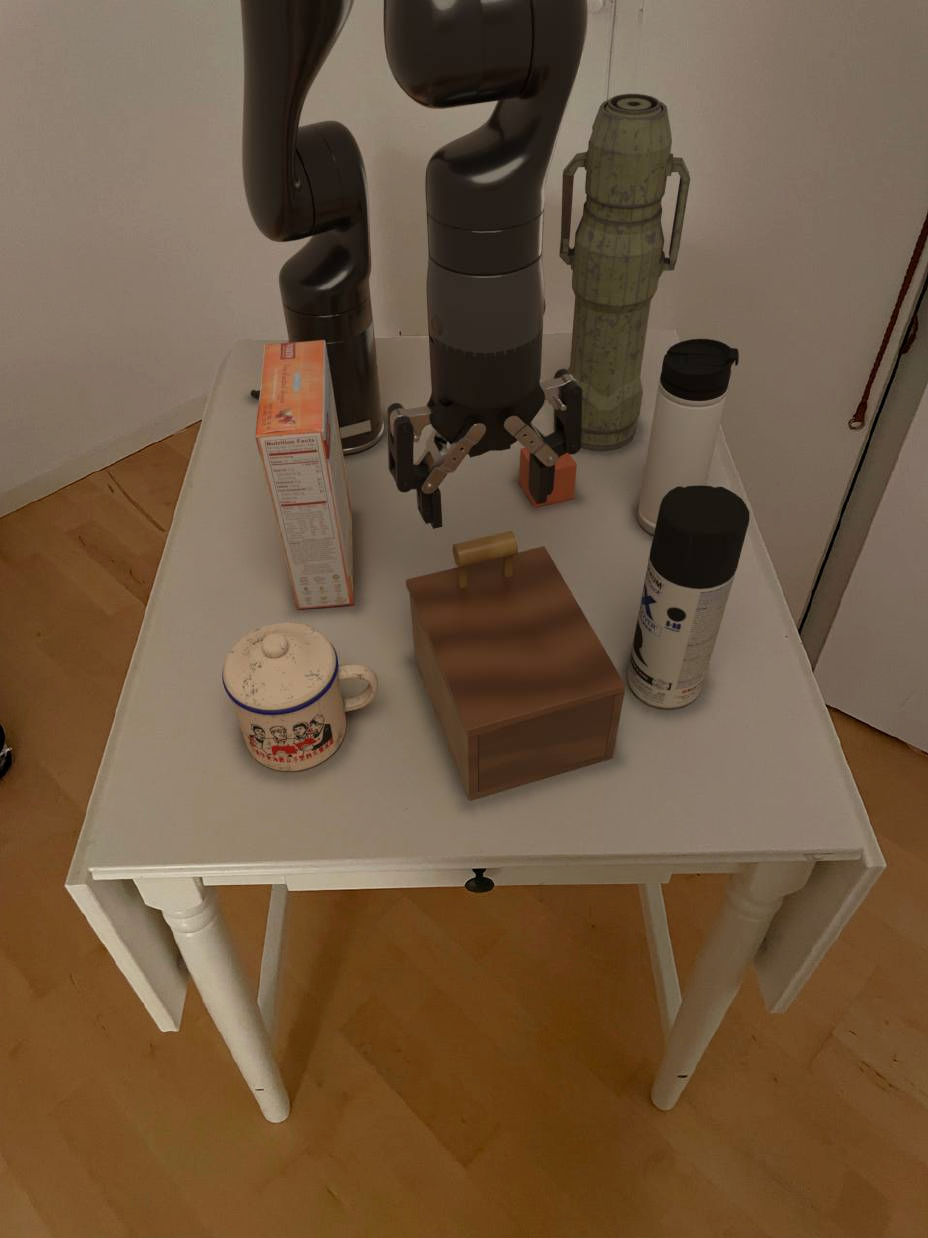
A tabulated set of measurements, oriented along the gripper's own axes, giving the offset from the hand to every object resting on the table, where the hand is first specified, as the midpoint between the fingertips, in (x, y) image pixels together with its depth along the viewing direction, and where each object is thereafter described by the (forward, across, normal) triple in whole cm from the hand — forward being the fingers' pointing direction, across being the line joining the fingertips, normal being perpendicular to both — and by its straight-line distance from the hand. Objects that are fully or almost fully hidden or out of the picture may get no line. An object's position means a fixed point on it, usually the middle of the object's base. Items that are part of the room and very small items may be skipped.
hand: (486, 509), depth 71 cm
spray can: (+18, -14, +8) cm, 24 cm away
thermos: (+17, -24, -29) cm, 41 cm away
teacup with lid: (+18, +17, +3) cm, 24 cm away
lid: (+9, 0, +6) cm, 10 cm away
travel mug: (+18, -24, -11) cm, 32 cm away
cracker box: (+18, +11, -17) cm, 27 cm away
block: (+17, -14, -20) cm, 30 cm away
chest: (+17, 0, +6) cm, 19 cm away
